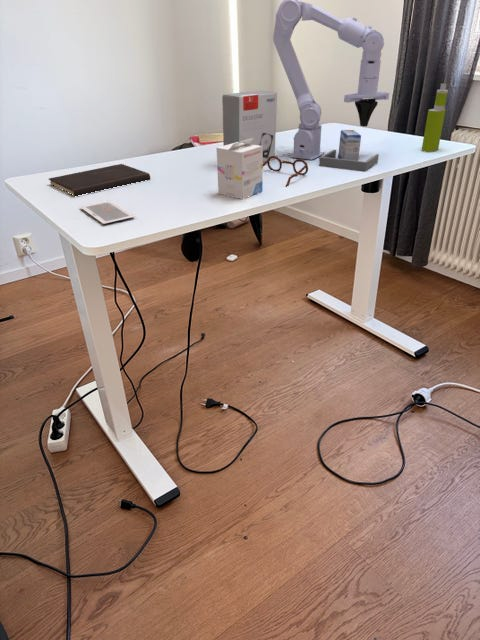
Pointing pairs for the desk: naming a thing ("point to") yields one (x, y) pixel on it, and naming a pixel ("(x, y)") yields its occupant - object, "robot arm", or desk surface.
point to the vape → (435, 122)
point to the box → (347, 162)
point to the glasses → (288, 163)
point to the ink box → (240, 169)
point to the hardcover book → (99, 179)
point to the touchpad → (107, 211)
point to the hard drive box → (251, 119)
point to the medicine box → (349, 145)
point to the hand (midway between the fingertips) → (363, 126)
